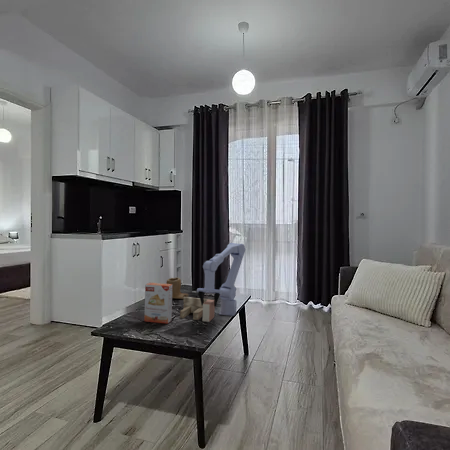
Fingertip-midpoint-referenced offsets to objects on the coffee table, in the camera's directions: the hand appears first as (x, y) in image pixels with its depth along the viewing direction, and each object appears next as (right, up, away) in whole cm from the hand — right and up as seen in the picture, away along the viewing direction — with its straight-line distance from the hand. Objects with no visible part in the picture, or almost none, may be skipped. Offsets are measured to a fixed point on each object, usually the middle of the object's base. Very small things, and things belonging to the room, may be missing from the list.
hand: (208, 305), depth 184 cm
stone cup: (-26, -7, +46) cm, 54 cm away
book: (0, -8, 0) cm, 8 cm away
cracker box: (-28, -7, -7) cm, 30 cm away
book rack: (-10, -8, +5) cm, 14 cm away
